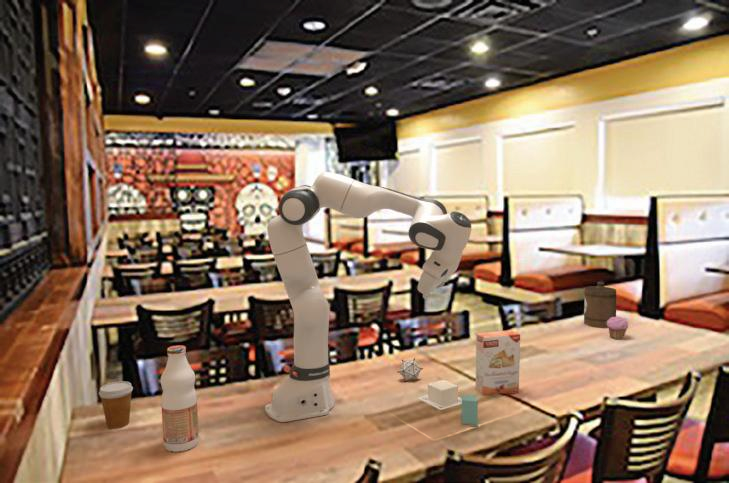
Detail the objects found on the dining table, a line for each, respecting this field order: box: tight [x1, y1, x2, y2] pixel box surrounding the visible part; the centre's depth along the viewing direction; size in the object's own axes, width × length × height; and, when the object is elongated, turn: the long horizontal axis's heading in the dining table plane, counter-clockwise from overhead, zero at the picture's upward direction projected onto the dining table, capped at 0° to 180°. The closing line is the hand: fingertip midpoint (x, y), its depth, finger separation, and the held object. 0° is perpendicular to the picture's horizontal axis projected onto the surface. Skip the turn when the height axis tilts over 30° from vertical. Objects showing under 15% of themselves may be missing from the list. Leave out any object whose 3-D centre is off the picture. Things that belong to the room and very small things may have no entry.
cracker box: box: [475, 329, 521, 396], centre depth 187 cm, size 14×6×21 cm, turn 105°
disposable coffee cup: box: [98, 381, 134, 429], centre depth 167 cm, size 10×10×12 cm
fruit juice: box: [160, 344, 200, 453], centre depth 152 cm, size 9×9×28 cm
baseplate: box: [417, 394, 462, 411], centre depth 180 cm, size 12×12×1 cm
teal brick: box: [461, 394, 479, 428], centre depth 163 cm, size 4×4×8 cm
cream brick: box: [427, 379, 459, 405], centre depth 180 cm, size 7×7×5 cm
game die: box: [397, 357, 424, 383], centre depth 200 cm, size 9×8×10 cm
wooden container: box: [583, 280, 617, 329], centre depth 274 cm, size 15×15×22 cm
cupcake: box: [607, 316, 629, 340], centre depth 250 cm, size 9×9×10 cm
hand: (433, 291), depth 179 cm, fingers open, 8 cm apart
